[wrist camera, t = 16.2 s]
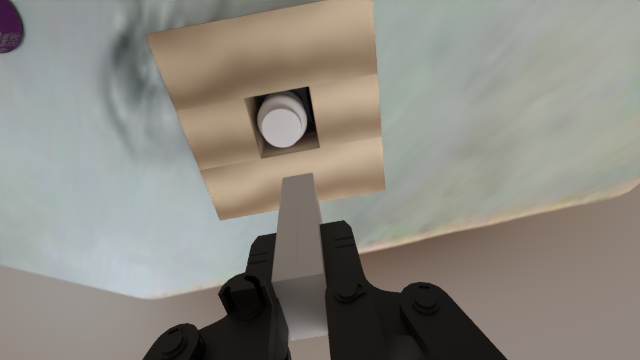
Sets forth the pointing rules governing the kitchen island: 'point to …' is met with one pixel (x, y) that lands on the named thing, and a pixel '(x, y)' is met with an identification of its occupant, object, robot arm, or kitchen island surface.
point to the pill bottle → (282, 118)
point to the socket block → (269, 77)
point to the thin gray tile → (303, 94)
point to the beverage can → (9, 27)
